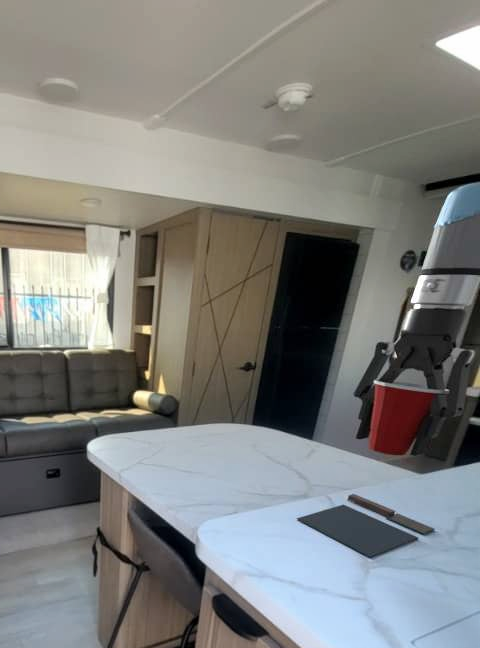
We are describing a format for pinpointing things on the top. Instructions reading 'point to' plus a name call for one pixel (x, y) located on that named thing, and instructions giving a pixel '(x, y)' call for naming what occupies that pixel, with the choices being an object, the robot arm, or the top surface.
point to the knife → (391, 515)
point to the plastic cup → (399, 415)
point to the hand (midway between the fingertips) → (387, 445)
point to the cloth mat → (357, 530)
